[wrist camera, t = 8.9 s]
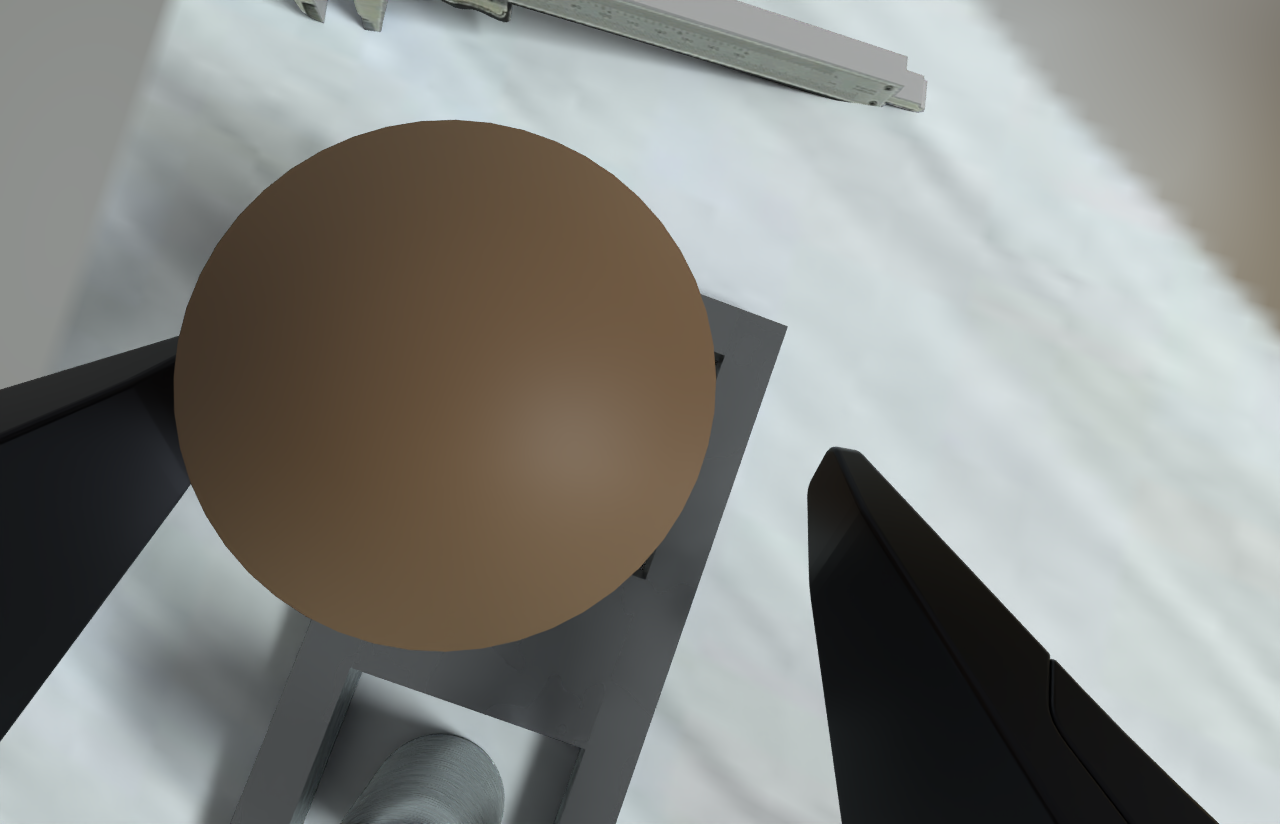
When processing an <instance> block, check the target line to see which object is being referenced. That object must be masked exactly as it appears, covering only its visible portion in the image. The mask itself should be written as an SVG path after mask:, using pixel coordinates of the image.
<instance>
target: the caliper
mask: <svg viewBox="0 0 1280 824" xmlns="http://www.w3.org/2000/svg"><path fill="white" fill-rule="evenodd" d="M294 1H295V2H296V4H297V5H298V6H299V8H300V9H301V10H302V12H303V13H305V14H307V15H308V16H310V17H311V18H313V19H315V20H318V21H320V22H323V23H324V19H325V13H326V7H327V2H328V0H294ZM387 1H388V0H354V3H355V7H356V10H357V12H358V14H359V15H360V16H361V17H362V21H363V26H364V29H365V30H370V31H377V32H380V31H381V29H382V24H383V20H384V15H385V10H386V6H387ZM442 1H444V2H446V3H448V4H450V5H452V6H453V7H456V8H460V9H473V10H476V11H479V12H482V13H484V14H486V15H488V16H490V17H492V18H495V19H497V20H499V21H502V22H509V21H510V18H511V11H512V4H513V5H517V6H520V7H524V8H527V9H530V10H534V11H537V12H541V13H544V14H548V15H551V16H554V17H558V18H561V19H565V20H568V21H571V22H575V23H578V24H582V25H585V26H588V27H592V28H595V29H599V30H602V31H606V32H609V33H612V34H616V35H619V36H623V37H626V38H629V39H633V40H636V41H640V42H643V43H646V44H650V45H653V46H657V47H660V48H663V49H667V50H670V51H674V52H677V53H681V54H684V55H687V56H691V57H694V58H697V59H701V60H704V61H707V62H711V63H714V64H717V65H721V66H724V67H727V68H731V69H734V70H737V71H741V72H744V73H747V74H751V75H754V76H757V77H761V78H764V79H767V80H771V81H774V82H777V83H780V84H784V85H787V86H790V87H794V88H797V89H800V90H804V91H807V92H810V93H814V94H817V95H820V96H824V97H827V98H830V99H834V100H838V101H844V102H851V103H858V104H864V105H871V106H878V107H883V106H884V105H886V104H890V105H893V106H896V107H900V108H903V109H906V110H909V111H913V112H923V111H924V109H925V100H926V90H927V81H926V80H924V76H923V75H920V74H917V73H914V72H911V71H908V70H907V59H908V57H907V56H904V55H901V54H898V53H895V52H892V51H889V50H886V49H883V48H880V47H877V46H874V45H871V44H868V43H865V42H862V41H859V40H855V39H852V38H849V37H846V36H843V35H840V34H837V33H834V32H831V31H828V30H825V29H822V28H819V27H816V26H813V25H810V24H807V23H804V22H801V21H798V20H795V19H792V18H789V17H786V16H783V15H780V14H777V13H774V12H771V11H768V10H764V9H761V8H758V7H755V6H752V5H749V4H746V3H743V2H740V1H737V0H442Z"/></svg>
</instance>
